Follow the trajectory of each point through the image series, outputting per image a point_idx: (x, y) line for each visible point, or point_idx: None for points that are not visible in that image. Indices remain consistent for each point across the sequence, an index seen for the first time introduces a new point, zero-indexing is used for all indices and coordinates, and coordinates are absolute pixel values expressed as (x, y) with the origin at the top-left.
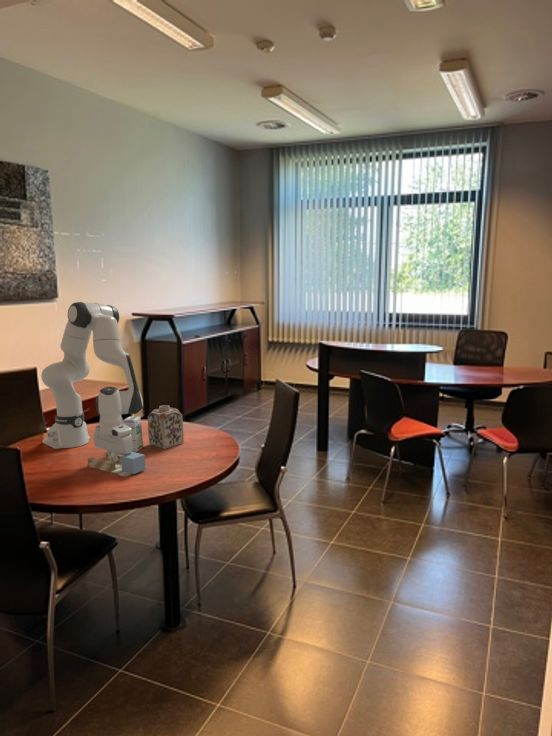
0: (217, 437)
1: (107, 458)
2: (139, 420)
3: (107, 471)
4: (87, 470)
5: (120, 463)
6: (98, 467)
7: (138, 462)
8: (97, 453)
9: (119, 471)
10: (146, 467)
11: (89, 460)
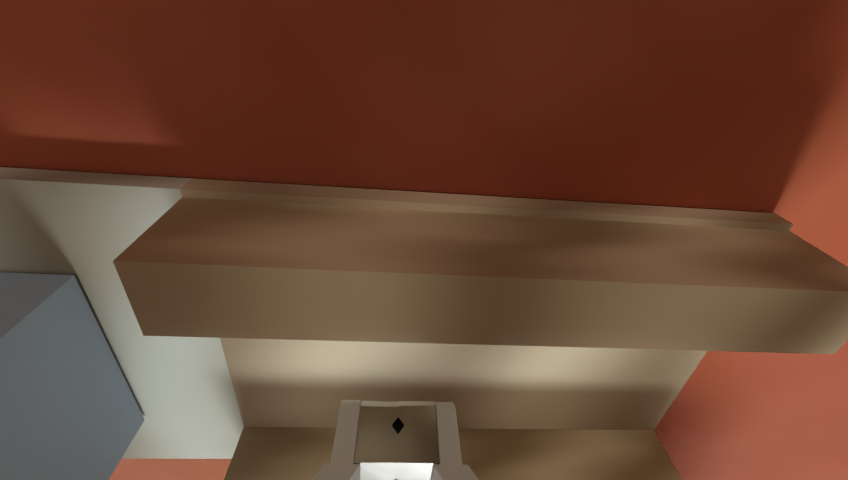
0: None
1: (625, 431)
2: None
3: (303, 186)
4: (678, 68)
5: None
6: (537, 215)
7: None
8: (819, 460)
9: (75, 242)
10: None
11: (813, 273)
